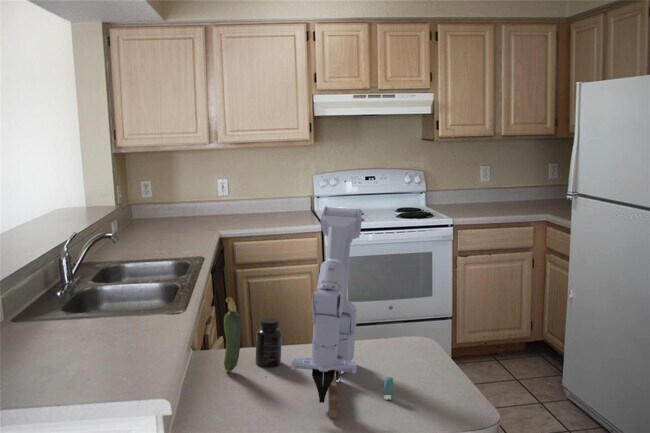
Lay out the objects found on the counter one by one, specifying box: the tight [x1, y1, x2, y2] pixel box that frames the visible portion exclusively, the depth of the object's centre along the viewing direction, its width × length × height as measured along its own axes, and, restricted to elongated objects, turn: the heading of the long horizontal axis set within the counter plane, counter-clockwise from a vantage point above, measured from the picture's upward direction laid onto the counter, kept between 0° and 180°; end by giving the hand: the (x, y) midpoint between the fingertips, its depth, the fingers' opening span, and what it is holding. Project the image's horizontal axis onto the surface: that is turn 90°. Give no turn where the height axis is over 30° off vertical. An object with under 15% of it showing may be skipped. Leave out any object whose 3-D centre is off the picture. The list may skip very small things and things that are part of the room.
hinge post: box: [336, 355, 342, 380], centre depth 147 cm, size 2×2×6 cm
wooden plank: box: [327, 371, 339, 418], centre depth 136 cm, size 21×2×6 cm, turn 1°
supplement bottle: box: [254, 317, 283, 369], centre depth 156 cm, size 7×7×12 cm
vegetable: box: [223, 296, 242, 373], centre depth 147 cm, size 4×4×20 cm
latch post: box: [383, 376, 394, 396], centre depth 139 cm, size 2×2×5 cm
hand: (321, 400), depth 132 cm, fingers closed
